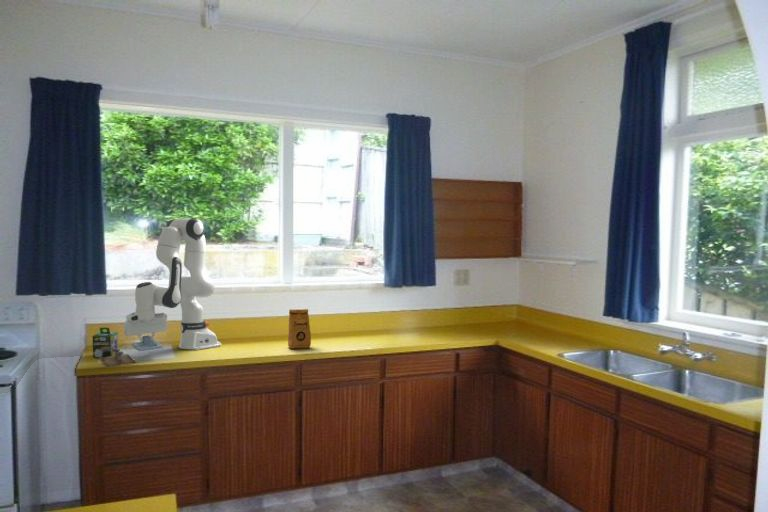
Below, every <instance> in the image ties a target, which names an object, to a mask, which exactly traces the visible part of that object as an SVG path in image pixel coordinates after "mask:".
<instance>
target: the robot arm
mask: <svg viewBox="0 0 768 512" xmlns="http://www.w3.org/2000/svg"><path fill="white" fill-rule="evenodd" d="M204 226H205V225H204V224H203V222H202V220H200V219H198V218H194V217H193V218H191V217H183V218H173V219H171V220H169V221H168V222H167V224H166V226H165V227H164V228H163V229H162V231H161V232H160V235H159V237H158V241H157V245H156V251H155V256H156V259H157V260H158V261H159V262H160V263H161V264H162V265H165V267H166V268H167V269H168V272H169V275H168V277H169V279H168V286H167V287H161V286H159V285H155V284H154V283H153V282H150V281H144V282H141V283H139V284H136V287H135V291H134V296H135V297H134V300H135V304H136V306H135V311H134V312H132V313H131V312H130V313H129V314H127V315H126V316H125V322H124V326H123V334H124V335H125V336H126V337H127V336H129V337H130V336H136V335H137V337H138V338H139V342H140V343H142V342H144V339H143V338H142V335H145V334H151V335H150V337H151V341H153V340H154V338H155V336H156V333H157V332H166V331H167V330H168V321H167V320H168V315H167V314H166V313H164V312H160V313H157V312H156V308H155V306H158V307H165V308H169V309H175V308H176V307H178V306H179V304H180V307H181V323H180V332H181V333H180V334H181V337H180V342H179V345H178V348H179V349H180V350H181V349H182V350H193V351H200V350H205V349H212V348H218V347H221V346H222V342H220V341H218V337H217V335H216V333H215V332H213V331H212V330H211V329H209V328H207V327H209V326H210V323H209V322H208V321H204V308H203V306H202V304H200V303H199V302H198V301H197V298H208V297H211V296H212V295H213V294H214V291H215V283H214V281H213V280H212V279H211V278H210V276H209V275H208V273H207V270H206V253H207V252H206V250H207V244H206V237H205V235H204V232H205V227H204ZM183 239H184V241H185V248H184V257H183V259H184V260H183V262H182V260H181V259H180V249H181V248H180V247H181V242H182V240H183ZM182 264H183V265H182ZM183 266H184V268H186V269H187V270H188V272H189V274H190V276H182V273H183V272H182V268H183Z"/></svg>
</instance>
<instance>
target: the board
mask: <svg viewBox="0 0 768 512" xmlns="http://www.w3.org/2000/svg"><path fill="white" fill-rule="evenodd" d="M113 352H115V355H114V356H109V357H101V361H102V362H103V363H104V362H105V363H106V364H107V365H106V364H105V363H104V364H105V365H106V366H107V367H108V368H109V367H115V365H117V366H122V365H121V364H125V365H129V364H128V363H133V364H136V360H135V359H134V358H132V357H131V356H130V355H129V354H124V351H123V350H122V351H121V349H120V348H119V347H118V348H116V349H113Z"/></svg>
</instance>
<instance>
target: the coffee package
mask: <svg viewBox="0 0 768 512" xmlns="http://www.w3.org/2000/svg"><path fill="white" fill-rule="evenodd" d="M288 314H289V317H288V337H287V338H288V339H287V343H288V344H287V346H288V348H289V349H292V350H293V349H295V350H296V349H298V350H299V349H302V350H303V349H310V347H311V344H312V335H311V334H312V333H311V325H310V318H309V308H302V309H289V311H288Z"/></svg>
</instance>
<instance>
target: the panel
mask: <svg viewBox="0 0 768 512" xmlns="http://www.w3.org/2000/svg"><path fill="white" fill-rule="evenodd" d="M141 338H143V339H144V342H142V343H140V341H137V342H131V346H132V347H133V348H134V349H135V350H137V352H144V351H151V350H152V351H153V350H159V349H163V345H162V344H161V343H160V342H159V341H157V340H155V339H153V341H151V335H143V336H142V335H141Z"/></svg>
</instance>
